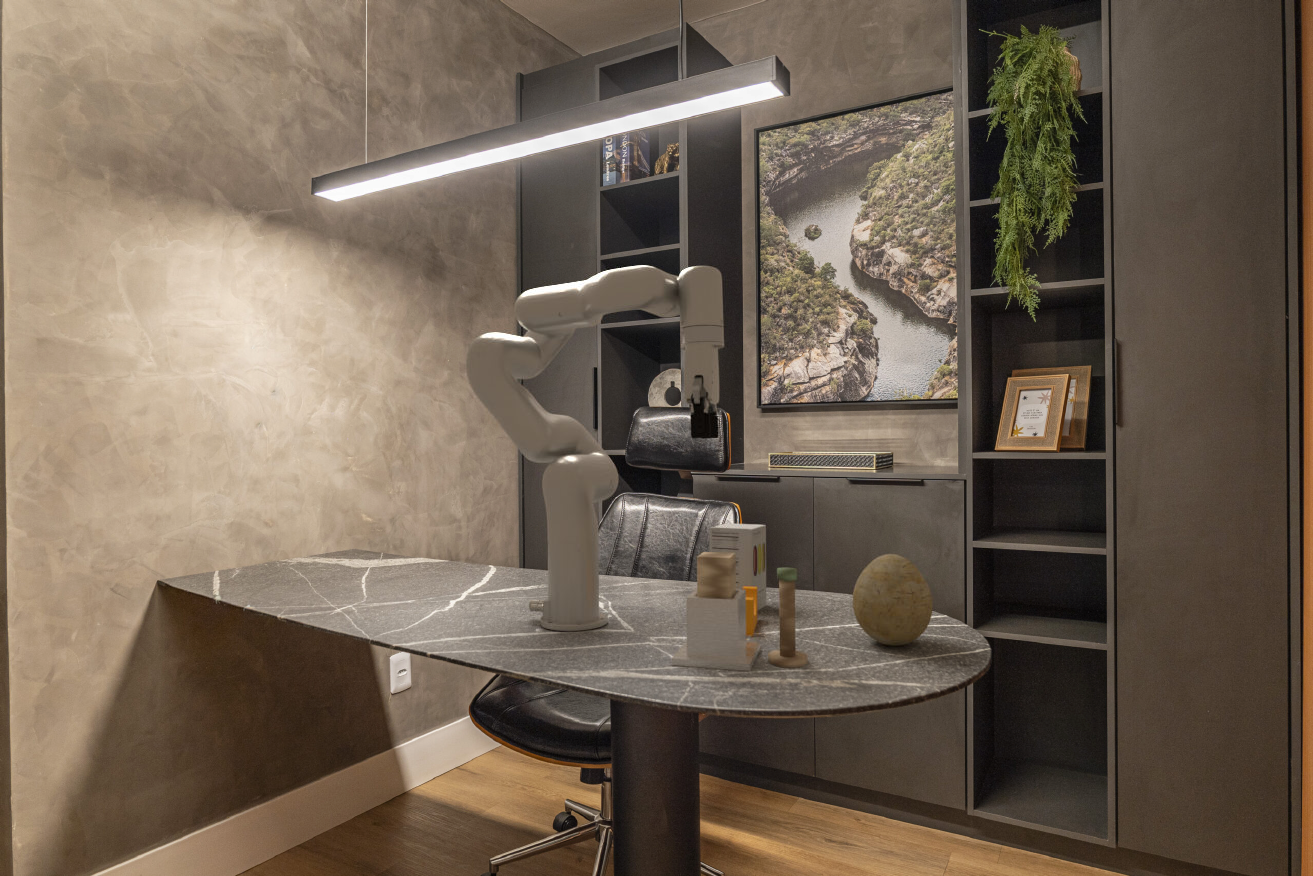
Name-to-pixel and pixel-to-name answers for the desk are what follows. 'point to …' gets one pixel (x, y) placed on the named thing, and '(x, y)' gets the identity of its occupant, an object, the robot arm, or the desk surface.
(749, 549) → the supplement box
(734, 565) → the column
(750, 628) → the pipe clamp
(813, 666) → the desk surface
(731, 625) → the sleeve
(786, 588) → the marker post
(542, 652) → the desk surface
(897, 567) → the fossilized egg
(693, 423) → the robot arm
